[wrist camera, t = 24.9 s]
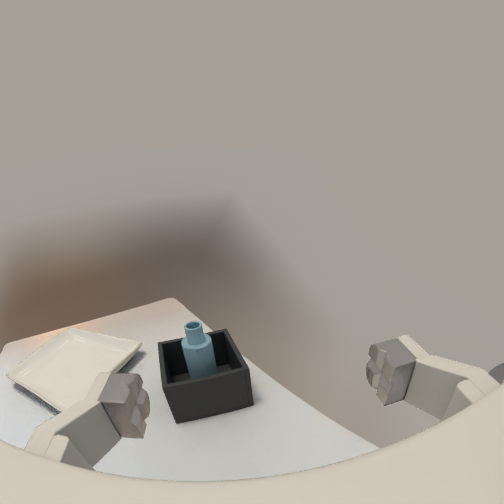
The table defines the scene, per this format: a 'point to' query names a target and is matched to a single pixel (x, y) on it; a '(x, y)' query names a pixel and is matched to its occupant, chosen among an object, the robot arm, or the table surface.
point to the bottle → (198, 351)
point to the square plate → (71, 365)
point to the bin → (205, 380)
